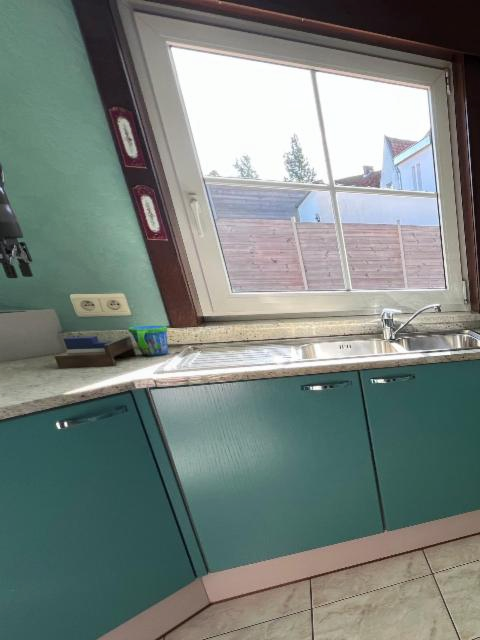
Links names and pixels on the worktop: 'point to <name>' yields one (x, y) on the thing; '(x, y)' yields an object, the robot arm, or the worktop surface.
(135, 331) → the snack cup
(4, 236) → the robot arm
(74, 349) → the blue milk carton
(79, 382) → the worktop surface
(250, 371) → the worktop surface
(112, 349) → the wooden display stand
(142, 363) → the worktop surface
